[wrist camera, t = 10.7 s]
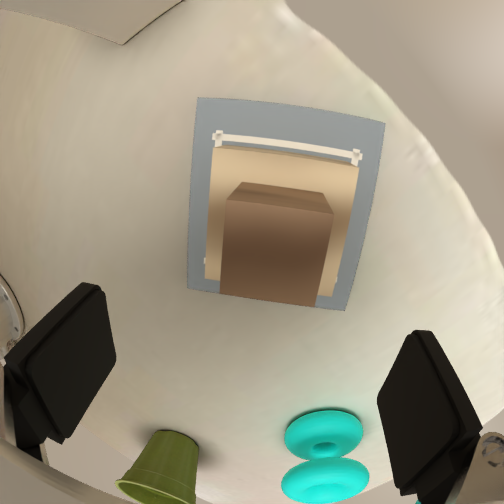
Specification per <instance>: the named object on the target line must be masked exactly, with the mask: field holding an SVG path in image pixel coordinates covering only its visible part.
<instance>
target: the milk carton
mask: <svg viewBox="0 0 504 504" xmlns="http://www.w3.org/2000/svg"><path fill="white" fill-rule="evenodd" d="M180 1H182V0H0V9H5V10H9V11H14V12H19V13H23V14H27V15H31V16H35V17H39V18H43V19H46V20H50V21H53V22H57V23H60V24H63V25H67V26H70V27H73V28H76V29H79V30H82V31H85V32H88V33H91V34H94V35H96V36H99V37H102V38H105V39H107V40H110V41H112V42H115V43H118V44H120V45H123V44H124V43H125V42H126V41H128V40H129V39H130V38H131V37H133V36H134V35H135V34H136V33H138V32H139V31H140V30H141V29H143V28H144V27H145V26H146V25H148V24H149V23H150V22H152V21H153V20H154V19H156V18H157V17H159V16H160V15H161V14H163V13H164V12H166V11H167V10H168V9H170V8H171V7H173V6H174V5H176V4H177V3H179V2H180Z"/></svg>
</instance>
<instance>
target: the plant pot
mask: <svg viewBox="0 0 504 504" xmlns="http://www.w3.org/2000/svg"><path fill="white" fill-rule="evenodd" d="M198 451H199V448H198V446H196V444H195V443H194V441H193V440H191V439H190V438H188V437H187V436H184V435H182V434H180V433H177V432H173V431H165V432H164V431H157V432H155V433H154V435H153V436H152V438H151V439H150V441H149V442H148V444H147V445H146V447H145V448H144V450H143V451H142V452H141V454H140V455H139V457H138V458H137V460H136V461H135V463H134V464H133V466H132V467H131V469H130V470H128V471H127V472H126V473H125V475H124V476H123V477H122V478H121V479H119V480H116V482H115V485H116V487H117V488H118V489H119V490H120V491H122V492H123V493H124V494H125V495H127V496H129V497H130V498H132V499H134V500H135V501H137V502H139V503H142V504H196V503H195V502H196V494H195V485H196V473H197V463H198Z"/></svg>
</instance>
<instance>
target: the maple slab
mask: <svg viewBox="0 0 504 504" xmlns="http://www.w3.org/2000/svg"><path fill="white" fill-rule="evenodd" d="M358 173H359V167H357V166H355V165H353V164H351V163H349V162H347V161H342V160H337V159H331V158H325V157H319V156H313V155H307V154H300V153H293V152H286V151H279V150H271V149H263V148H254V147H245V146H235V145H222V146H218V147H214V148H213V154H212V166H211V178H210V192H209V206H208V222H207V239H206V259H205V279H211V280H217V281H220V275H221V261H222V247H223V233H224V220H225V208H226V199H227V198H228V197H229V196H230V195H231V193H232V192H233V191H234V190H235V189H236V188H237V187H238V186H239V184H240V183H241V182H249V183H257V184H265V185H272V186H280V187H287V188H294V189H301V190H307V191H314V192H320V193H323V194H324V196H325V198H326V200H327V202H328V203H329V205H330V207H331V209H332V211H333V213H334V219H333V224H332V229H331V234H330V239H329V244H328V249H327V254H326V259H325V263H324V268H323V272H322V277H321V281H320V286H319V290H318V294H317V295H322V296H330V297H332V294H333V290H334V286H335V282H336V278H337V274H338V270H339V266H340V261H341V257H342V253H343V248H344V244H345V240H346V235H347V230H348V226H349V221H350V216H351V211H352V206H353V201H354V195H355V190H356V184H357V179H358Z"/></svg>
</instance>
